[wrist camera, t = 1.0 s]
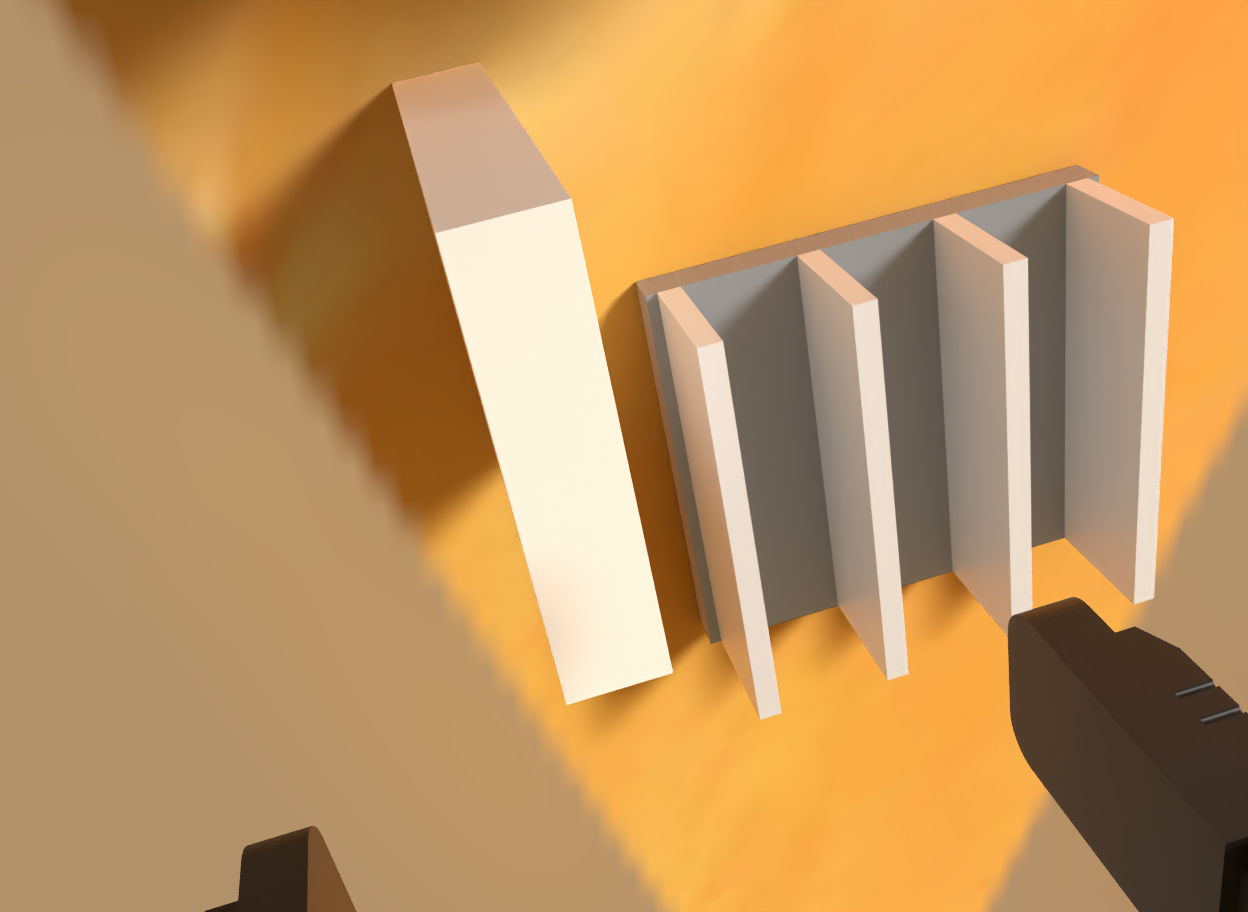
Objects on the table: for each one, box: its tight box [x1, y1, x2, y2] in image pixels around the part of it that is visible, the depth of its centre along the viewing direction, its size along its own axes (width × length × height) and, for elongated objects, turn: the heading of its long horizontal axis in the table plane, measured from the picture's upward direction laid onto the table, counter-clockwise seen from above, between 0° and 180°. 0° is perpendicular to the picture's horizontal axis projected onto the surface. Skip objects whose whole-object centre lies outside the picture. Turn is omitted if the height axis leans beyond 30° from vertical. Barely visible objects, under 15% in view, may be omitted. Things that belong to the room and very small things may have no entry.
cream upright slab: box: [392, 62, 673, 705], centre depth 24 cm, size 9×2×11 cm, turn 11°
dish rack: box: [636, 165, 1174, 720], centre depth 31 cm, size 11×12×4 cm
